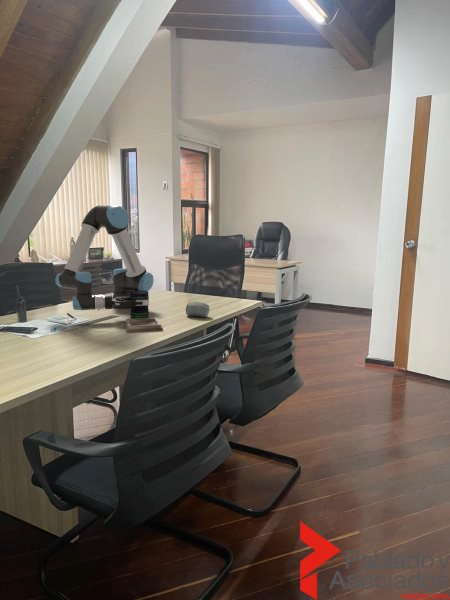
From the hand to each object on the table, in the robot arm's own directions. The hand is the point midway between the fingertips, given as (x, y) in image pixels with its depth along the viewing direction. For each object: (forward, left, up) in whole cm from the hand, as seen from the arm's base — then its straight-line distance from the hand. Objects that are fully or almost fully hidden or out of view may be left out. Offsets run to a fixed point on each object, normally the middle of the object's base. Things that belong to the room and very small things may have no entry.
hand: (147, 300), depth 228 cm
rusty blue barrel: (0, -4, -10) cm, 11 cm away
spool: (-1, +28, -10) cm, 30 cm away
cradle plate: (+17, -4, -10) cm, 20 cm away
